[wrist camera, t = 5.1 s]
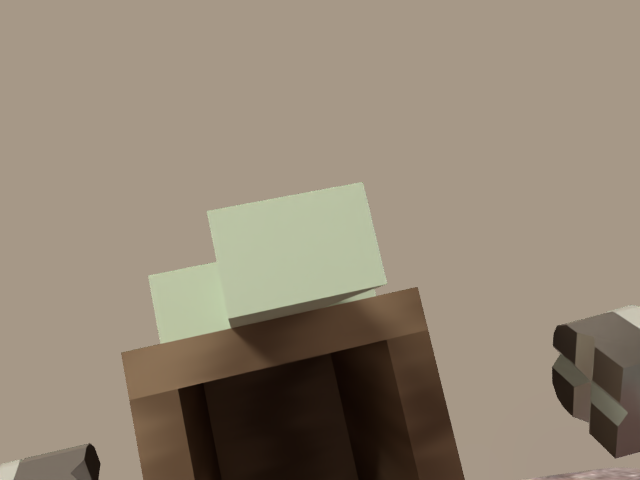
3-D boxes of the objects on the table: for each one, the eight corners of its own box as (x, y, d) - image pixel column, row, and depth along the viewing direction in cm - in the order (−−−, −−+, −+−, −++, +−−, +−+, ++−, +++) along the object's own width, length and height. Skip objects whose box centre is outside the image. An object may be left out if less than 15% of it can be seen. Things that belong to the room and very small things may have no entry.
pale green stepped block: (339, 308, 30) (328, 260, 30) (508, 257, 12) (476, 136, 12) (180, 343, 29) (171, 293, 29) (83, 350, 10) (59, 210, 11)
